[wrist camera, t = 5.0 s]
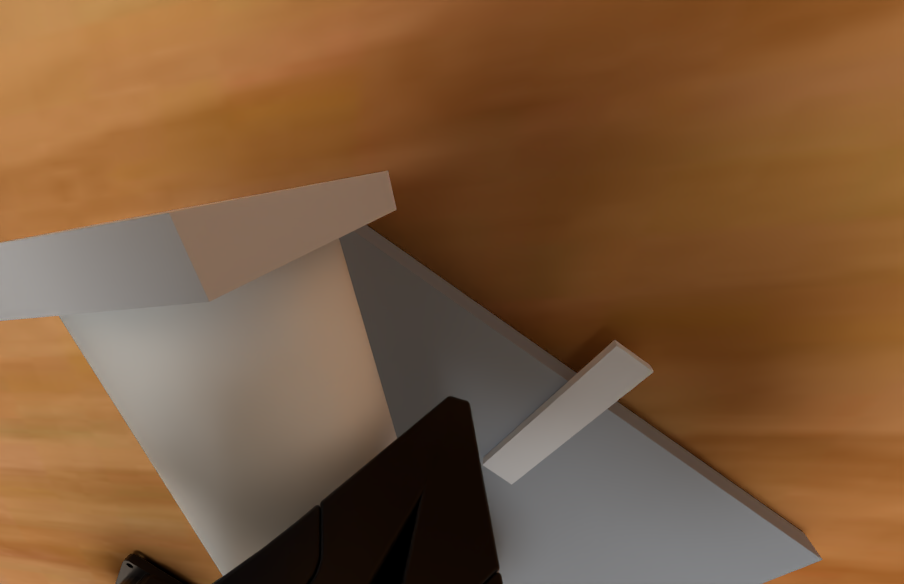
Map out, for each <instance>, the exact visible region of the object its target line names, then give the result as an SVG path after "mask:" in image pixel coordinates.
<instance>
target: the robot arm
mask: <svg viewBox="0 0 904 584" xmlns="http://www.w3.org/2000/svg"><path fill="white" fill-rule="evenodd" d="M499 571H500V565H499V560H498V554H497V549H496V543H495V538H494V532H493V527H492V521H491V516H490V510H489V505H488V499H487V494H486V488H485V483H484V477H483V472H482V467H481V461H480V456H479V450H478V445H477V439H476V434H475V428H474V423H473V417H472V412H471V406H470V403H469V402H468V401H467V400H463V399H460V398H457V397H453V396H448V397H447V398H445V399H444V400H443V401H442V402H440V403H439V404H438V405H437V406H436V407H434V408H433V409H432V410H431V411H430V412H428V413H427V414H426V415H425V416H423V417H422V418H421V419H420V420H419V421H417V422H416V423H415V424H414V425H413V426H411V427H410V428H409V429H408V430H407V431H405V432H404V433H403V434H402V435H401V436H399V437H398V438H397V439H396V440H394V441H393V442H392V443H391V444H390V445H388V446H387V447H386V448H385V449H384V450H382V451H381V452H380V453H379V454H378V455H376V456H375V457H374V458H373V459H371V460H370V461H369V462H368V463H367V464H365V465H364V466H363V467H362V468H361V469H359V470H358V471H357V472H356V473H355V474H353V475H352V476H351V477H350V478H349V479H347V480H346V481H345V482H344V483H342V484H341V485H340V486H339V487H338V488H336V489H335V490H334V491H333V492H332V493H330V494H329V495H328V496H327V497H326V498H324V499H323V500H322V501H321V502H320V506H319V505H316V506H314V507H313V508H312V509H311V510H310V511H308V512H307V513H306V514H305V515H304V516H302V517H301V518H300V519H299V520H298V521H296V522H295V523H294V524H293V525H291V526H290V527H289V528H287V529H286V530H285V531H284V532H282V533H281V534H280V535H278V536H277V537H276V538H275V539H273V540H272V541H271V542H270V543H268V544H267V545H266V546H264V547H263V548H262V549H260V550H259V551H258V552H256V553H255V554H253V555H252V556H251V557H249V558H248V559H246V560H245V561H244V562H242V563H241V564H239V565H238V566H237V567H235V568H234V569H232V570H231V571H230V572H228V573H227V574H225V575H224V576H223V577H221V578H220V579H218V580H217V581H215V582H214V583H212V584H503V580H502V575H501V574H500V573H499ZM116 584H183V583H181V582H179V581H178V580H176V579H175V578H173V577H171V576H170V575H168V574H166V573H165V572H163V571H162V570H160V569H158V568H157V567H155V566H153V565H152V564H150V563H149V562H147V561H145V560H144V559H142V558H140V557H139V556H137V555H135V554H130V555H129V556H128V557H127V558H126V559H125V560H124V561H123V563H122V566H121V569H120V572H119V575H118V578H117V581H116Z"/></svg>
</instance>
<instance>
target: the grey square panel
mask: <svg viewBox="0 0 904 584" xmlns="http://www.w3.org/2000/svg"><path fill="white" fill-rule="evenodd" d="M339 240H340V244H341V247H342V251H343V254H344V258H345V261H346V264H347V268H348V271H349V275H350V278H351V282H352V285H353V289H354V292H355V295H356V299H357V302H358V306H359V309H360V313H361V316H362V320H363V323H364V326H365V330H366V333H367V337H368V340H369V344H370V347H371V350H372V354H373V357H374V361H375V364H376V368H377V371H378V375H379V378H380V381H381V385H382V388H383V392H384V395H385V399H386V402H387V406H388V409H389V412H390V416H391V419H392V423H393V426H394V430H395V433H396V436H397V438H398V437H399V436H401V435H402V434H403V433H404V432H405V431H407V430H408V429H409V428H410V427H411V426H413V425H414V424H415V423H416V422H417V421H419V420H420V419H421V418H422V417H423V416H425V415H426V414H427V413H428V412H430V411H431V410H432V409H433V408H434V407H436V406H437V405H438V404H439V403H440V402H442V401H443V400H444V399H445V398H447V397H448V396H453V397H457V398H460V399H463V400H467V401H468V402H469V403H470V406H471V412H472V417H473V423H474V428H475V434H476V439H477V445H478V450H479V456H480V461H481V467H482V472H483V477H484V483H485V488H486V494H487V499H488V505H489V510H490V516H491V521H492V527H493V532H494V538H495V543H496V549H497V554H498V560H499V565H500V571H499V573H500V574H501V575H502V580H503V584H762V583H765V582H767V581H770V580H772V579H775V578H777V577H780V576H782V575H785V574H787V573H790V572H793V571H795V570H798V569H800V568H803V567H805V566H808V565H810V564H813V563H815V562H818V561H820V560H822V558H821V557H820V555H819V554H818V553H817V551H816V550H815V548H814V547H813V545H812V544H811V542H810V541H809V540H808V538H807V537H806V535H805V534H804V533H803V532H802V531H800V530H799V529H798V528H796V527H795V526H793V525H792V524H790V523H789V522H788V521H786V520H785V519H783V518H782V517H780V516H779V515H778V514H776V513H775V512H773V511H772V510H771V509H769V508H768V507H766V506H765V505H763V504H762V503H761V502H759V501H758V500H756V499H755V498H753V497H752V496H751V495H749V494H748V493H746V492H745V491H744V490H742V489H741V488H739V487H738V486H736V485H735V484H734V483H732V482H731V481H729V480H728V479H726V478H725V477H724V476H722V475H721V474H719V473H718V472H717V471H715V470H714V469H712V468H711V467H709V466H708V465H707V464H705V463H704V462H702V461H701V460H699V459H698V458H697V457H695V456H694V455H692V454H691V453H690V452H688V451H687V450H685V449H684V448H682V447H681V446H680V445H678V444H677V443H675V442H674V441H672V440H671V439H670V438H668V437H667V436H665V435H664V434H663V433H661V432H660V431H658V430H657V429H655V428H654V427H653V426H651V425H650V424H648V423H647V422H645V421H644V420H643V419H641V418H640V417H638V416H637V415H636V414H634V413H633V412H631V411H630V410H628V409H627V408H626V407H624V406H623V405H621V404H620V403H619V402H617V401H618V400H619V399H620V398H621V397H623V396H624V395H625V394H627V393H628V392H629V391H630V390H632V389H633V388H634V387H635V386H637V385H638V384H639V383H640V382H642V381H643V380H644V379H645V378H647V377H648V376H649V375H650V374H652V373H653V372H654V371H653V369H652V367H651V366H650V365H649V364H648V363H647V362H645V361H644V360H642V359H641V358H640V357H638V356H637V355H635V354H634V353H633V352H631V351H630V350H628V349H627V348H626V347H624V346H623V345H621V344H620V343H619V342H617V341H616V340H614V341H613V342H611V343H610V344H609V345H608V346H607V347H606V348H605V349H604V350H603V351H601V352H600V353H599V354H598V355H597V356H596V357H595V358H594V359H593V360H591V361H590V362H589V363H588V364H587V365H586V366H585V367H584V368H583V369H581V370H580V371H579V372H578V373H576V372H574V371H573V370H572V369H570V368H569V367H567V366H566V365H565V364H563V363H562V362H560V361H559V360H557V359H556V358H555V357H553V356H552V355H550V354H549V353H547V352H546V351H545V350H543V349H542V348H540V347H539V346H538V345H536V344H535V343H533V342H532V341H530V340H529V339H528V338H526V337H525V336H523V335H522V334H520V333H519V332H518V331H516V330H515V329H513V328H512V327H511V326H509V325H508V324H506V323H505V322H503V321H502V320H501V319H499V318H498V317H496V316H495V315H493V314H492V313H491V312H489V311H488V310H486V309H485V308H484V307H482V306H481V305H479V304H478V303H476V302H475V301H474V300H472V299H471V298H469V297H468V296H466V295H465V294H464V293H462V292H461V291H459V290H458V289H457V288H455V287H454V286H452V285H451V284H449V283H448V282H447V281H445V280H444V279H442V278H441V277H440V276H438V275H437V274H435V273H434V272H432V271H431V270H430V269H428V268H427V267H425V266H424V265H422V264H421V263H420V262H418V261H417V260H415V259H414V258H413V257H411V256H410V255H408V254H407V253H405V252H404V251H403V250H401V249H400V248H398V247H397V246H395V245H394V244H393V243H391V242H390V241H388V240H387V239H386V238H384V237H383V236H381V235H380V234H378V233H377V232H376V231H374V230H373V229H371V228H370V227H368V226H367V225H365V226H363V227H361V228H358V229H356V230H354V231H352V232H350V233H348V234H346V235H344V236H342V237H340V238H339Z"/></svg>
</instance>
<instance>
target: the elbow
mask: <svg viewBox="0 0 904 584" xmlns="http://www.w3.org/2000/svg"><path fill="white" fill-rule="evenodd" d="M395 210H397V209H396V204H395V200H394V195H393V191H392V186H391V182H390V177H389V173H388V171H383V172H377V173H372V174H366V175H361V176H355V177H350V178H344V179H339V180H333V181H328V182H322V183H317V184H312V185H306V186H301V187H295V188H290V189H284V190H279V191H273V192H268V193H262V194H257V195H251V196H246V197H240V198H235V199H230V200H224V201H219V202H213V203H208V204H202V205H197V206H192V207H186V208H181V209H176V210H170V211H165V212H160V213H154V214H149V215H143V216H138V217H133V218H127V219H122V220H117V221H111V222H106V223H101V224H95V225H90V226H85V227H79V228H74V229H69V230H63V231H58V232H53V233H47V234H42V235H37V236H31V237H26V238H21V239H15V240H10V241H5V242H0V321H4V320H15V319H26V318H37V317H48V316H59V317H60V319H61V320H62V322H63V323H64V325H65V327H66V328H67V330H68V331H69V333H70V335H71V336H72V338H73V339H74V341H75V342H76V344H77V346H78V347H79V349H80V350H81V352H82V354H83V355H84V357H85V358H86V360H87V361H88V363H89V365H90V366H91V368H92V369H93V371H94V373H95V374H96V376H97V377H98V379H99V380H100V382H101V384H102V385H103V387H104V388H105V390H106V392H107V393H108V395H109V396H110V398H111V400H112V401H113V403H114V404H115V406H116V407H117V409H118V411H119V412H120V414H121V415H122V417H123V419H124V420H125V422H126V423H127V425H128V426H129V428H130V430H131V431H132V433H133V434H134V436H135V438H136V439H137V441H138V442H139V444H140V445H141V447H142V449H143V450H144V452H145V453H146V455H147V457H148V458H149V460H150V461H151V463H152V465H153V466H154V468H155V469H156V471H157V472H158V474H159V476H160V477H161V479H162V480H163V482H164V484H165V485H166V487H167V488H168V490H169V491H170V493H171V495H172V496H173V498H174V499H175V501H176V503H177V504H178V506H179V507H180V509H181V510H182V512H183V514H184V515H185V517H186V518H187V520H188V522H189V523H190V525H191V526H192V528H193V529H194V531H195V533H196V534H197V536H198V537H199V539H200V541H201V542H202V544H203V545H204V547H205V549H206V550H207V552H208V553H209V555H210V556H211V558H212V560H213V561H214V563H215V564H216V566H217V568H218V569H219V571H220V572H221V574H222V575H223V576H224V575H225V574H227V573H228V572H230V571H231V570H232V569H234V568H235V567H237V566H238V565H239V564H241V563H242V562H244V561H245V560H246V559H248V558H249V557H251V556H252V555H253V554H255V553H256V552H258V551H259V550H260V549H262V548H263V547H264V546H266V545H267V544H268V543H270V542H271V541H272V540H273V539H275V538H276V537H277V536H278V535H280V534H281V533H282V532H284V531H285V530H286V529H287V528H289V527H290V526H291V525H293V524H294V523H295V522H296V521H298V520H299V519H300V518H301V517H302V516H304V515H305V514H306V513H307V512H308V511H310V510H311V509H312V508H313V507H314V506H316V505H319V506H320V502H321V501H322V500H323V499H324V498H326V497H327V496H328V495H329V494H330V493H332V492H333V491H334V490H335V489H336V488H338V487H339V486H340V485H341V484H342V483H344V482H345V481H346V480H347V479H349V478H350V477H351V476H352V475H353V474H355V473H356V472H357V471H358V470H359V469H361V468H362V467H363V466H364V465H365V464H367V463H368V462H369V461H370V460H371V459H373V458H374V457H375V456H376V455H378V454H379V453H380V452H381V451H382V450H384V449H385V448H386V447H387V446H388V445H390V444H391V443H392V442H393V441H394V440H396V439H397V436H396V433H395V430H394V426H393V423H392V419H391V416H390V412H389V409H388V406H387V402H386V399H385V395H384V392H383V388H382V385H381V381H380V378H379V375H378V371H377V368H376V364H375V361H374V357H373V354H372V350H371V347H370V344H369V340H368V337H367V333H366V330H365V326H364V323H363V320H362V316H361V313H360V309H359V306H358V302H357V299H356V295H355V292H354V289H353V285H352V282H351V278H350V275H349V271H348V268H347V264H346V261H345V258H344V254H343V251H342V247H341V244H340V240H339V238H340V237H342V236H344V235H346V234H348V233H350V232H352V231H354V230H356V229H358V228H361V227H363V226H365V225H367V224H369V223H371V222H373V221H375V220H377V219H379V218H381V217H383V216H385V215H387V214H389V213H391V212H393V211H395Z"/></svg>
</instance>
